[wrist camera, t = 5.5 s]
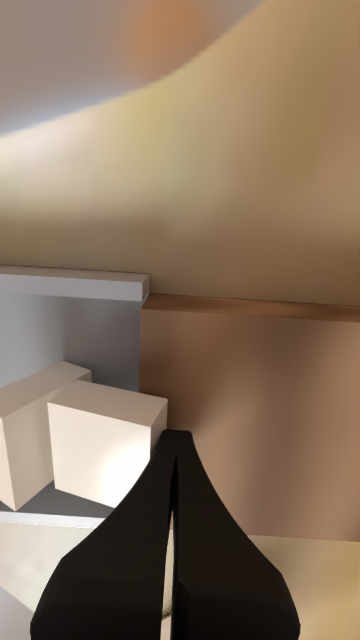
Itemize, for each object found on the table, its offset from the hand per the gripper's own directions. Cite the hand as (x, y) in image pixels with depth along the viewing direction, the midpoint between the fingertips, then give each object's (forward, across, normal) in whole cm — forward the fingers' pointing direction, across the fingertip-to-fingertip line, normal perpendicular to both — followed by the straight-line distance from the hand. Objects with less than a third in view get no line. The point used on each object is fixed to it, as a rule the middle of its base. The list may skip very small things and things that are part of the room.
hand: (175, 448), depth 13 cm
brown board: (+4, -5, 0) cm, 6 cm away
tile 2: (0, +5, 0) cm, 5 cm away
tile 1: (+1, +3, 0) cm, 3 cm away
